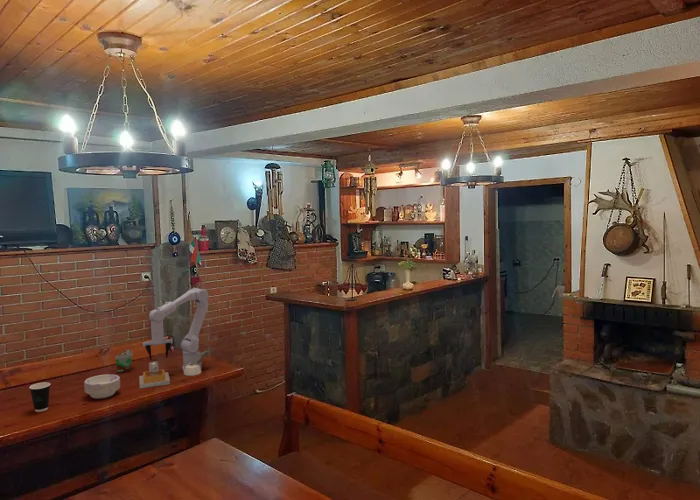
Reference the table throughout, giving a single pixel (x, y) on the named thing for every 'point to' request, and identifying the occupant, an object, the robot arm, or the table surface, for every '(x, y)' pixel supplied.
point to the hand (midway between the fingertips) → (158, 358)
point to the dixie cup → (40, 396)
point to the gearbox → (154, 379)
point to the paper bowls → (102, 385)
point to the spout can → (153, 368)
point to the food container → (124, 361)
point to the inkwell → (195, 365)
